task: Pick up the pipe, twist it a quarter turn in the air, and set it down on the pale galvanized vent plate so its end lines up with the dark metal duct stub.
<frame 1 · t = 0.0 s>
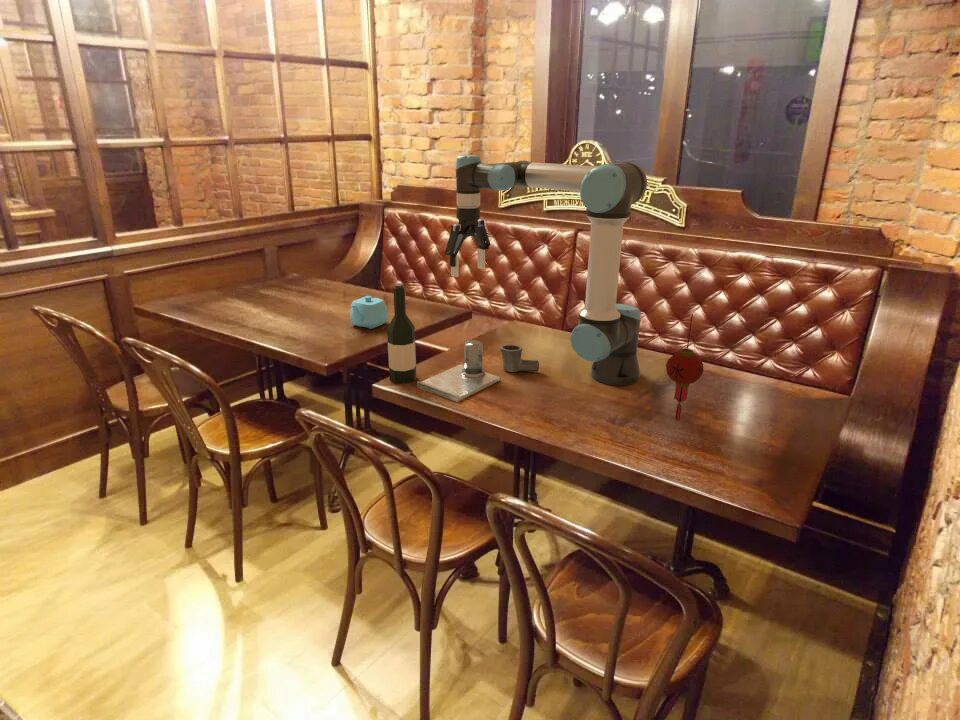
hand: (468, 272, 203), 28 cm above the table, fingers open, 13 cm apart
pipe: (518, 371, 198), on the table
wine bottle: (403, 379, 192), on the table
lantern: (677, 420, 168), on the table
teapot: (367, 326, 239), on the table
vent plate: (458, 383, 189), on the table
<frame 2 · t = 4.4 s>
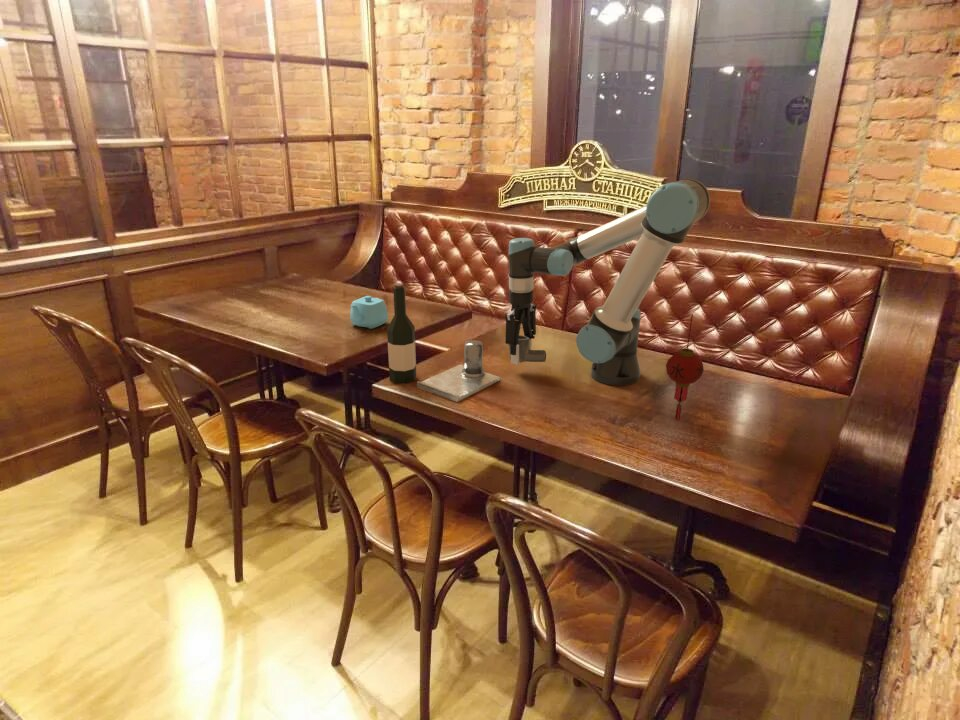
hand: (520, 360, 197), 4 cm above the table, fingers closed on pipe, 6 cm apart
pipe: (525, 362, 196), point 3 cm above the table, touching gripper
everything else where it was.
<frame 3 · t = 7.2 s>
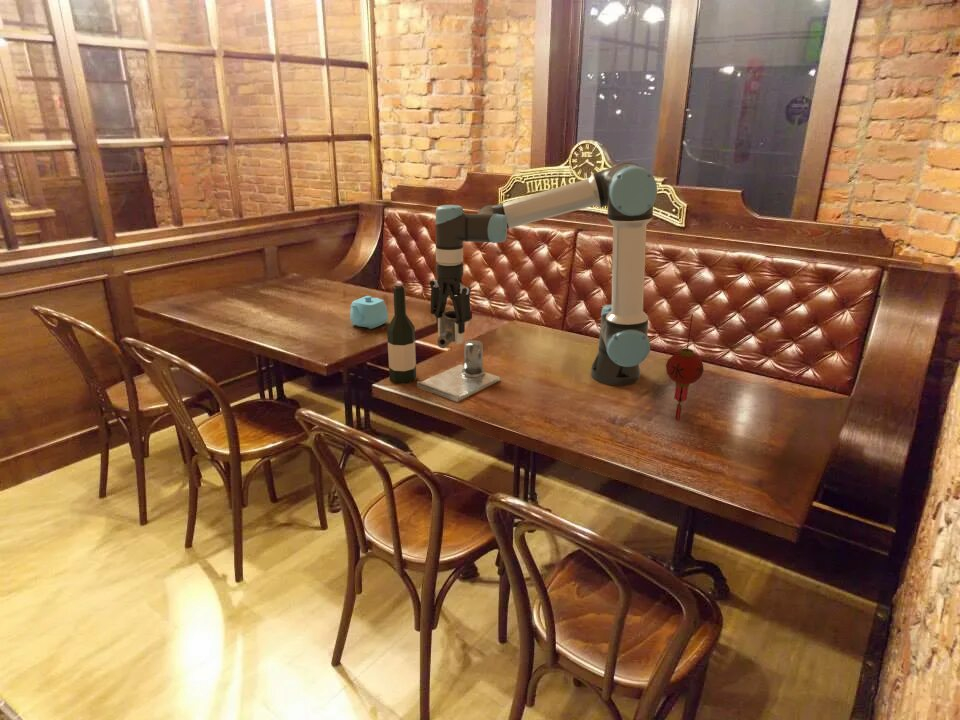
hand: (450, 340, 180), 15 cm above the table, fingers closed on pipe, 6 cm apart
pipe: (449, 343, 179), point 15 cm above the table, touching gripper
everything else where it was.
when the fingers open (2 cm above the table, at t = 10.2 s): pipe stays where it is, resting on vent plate.
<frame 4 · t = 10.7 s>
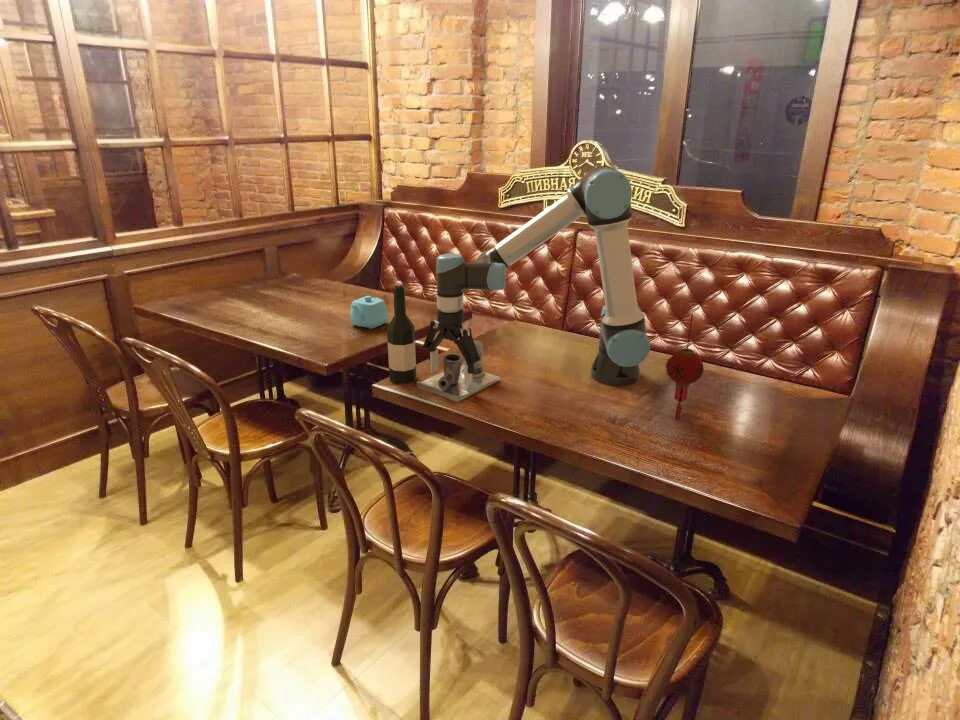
hand: (451, 376, 185), 3 cm above the table, fingers open, 13 cm apart
pipe: (449, 385, 184), point 1 cm above the table, touching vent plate
everything else where it was.
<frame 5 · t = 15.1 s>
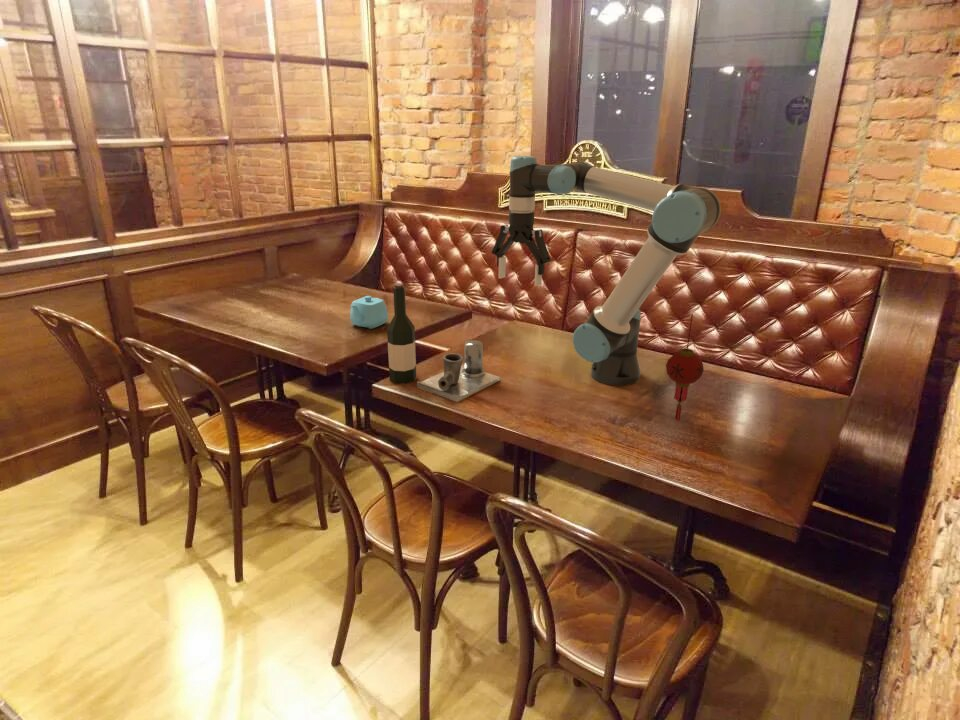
hand: (519, 281, 190), 29 cm above the table, fingers open, 13 cm apart
nothing on the table moved.
at the end: pipe inside the target area on the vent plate (1.3 cm from its centre), point 1.3 cm above the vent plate's base; the gripper is holding nothing; pipe moved 25.9 cm from its start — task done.
